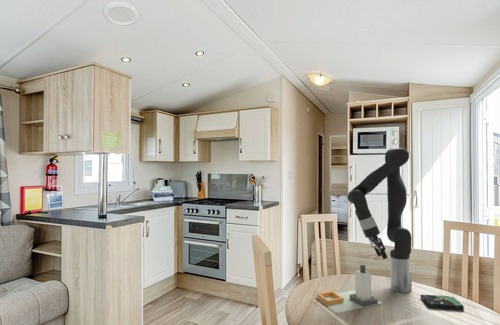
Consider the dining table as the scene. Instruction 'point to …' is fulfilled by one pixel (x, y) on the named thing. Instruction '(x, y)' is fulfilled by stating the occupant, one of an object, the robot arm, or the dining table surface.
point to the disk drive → (442, 302)
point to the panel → (344, 301)
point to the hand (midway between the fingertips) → (382, 257)
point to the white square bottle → (363, 284)
